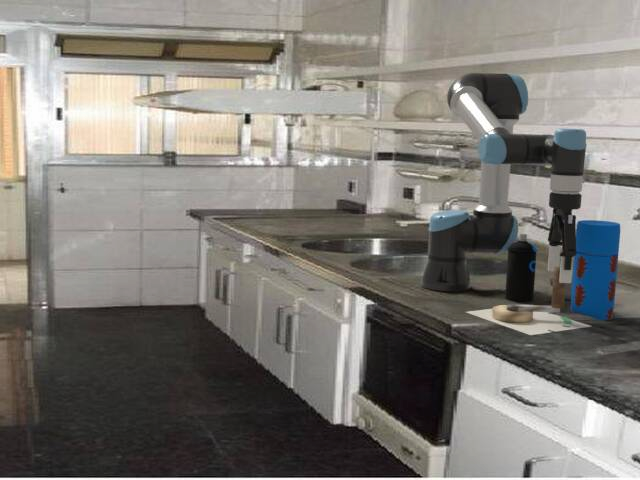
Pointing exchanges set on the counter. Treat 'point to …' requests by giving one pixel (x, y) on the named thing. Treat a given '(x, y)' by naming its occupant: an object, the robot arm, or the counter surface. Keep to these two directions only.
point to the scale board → (534, 322)
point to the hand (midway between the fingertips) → (558, 276)
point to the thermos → (595, 268)
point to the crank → (526, 311)
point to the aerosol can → (521, 271)
